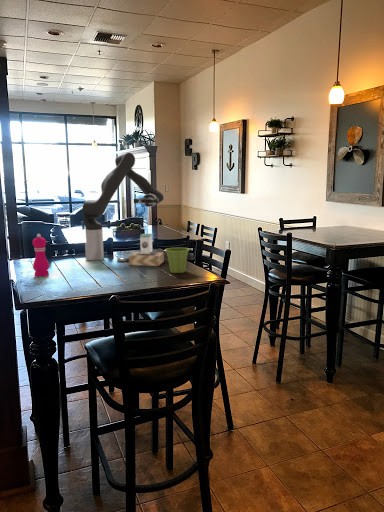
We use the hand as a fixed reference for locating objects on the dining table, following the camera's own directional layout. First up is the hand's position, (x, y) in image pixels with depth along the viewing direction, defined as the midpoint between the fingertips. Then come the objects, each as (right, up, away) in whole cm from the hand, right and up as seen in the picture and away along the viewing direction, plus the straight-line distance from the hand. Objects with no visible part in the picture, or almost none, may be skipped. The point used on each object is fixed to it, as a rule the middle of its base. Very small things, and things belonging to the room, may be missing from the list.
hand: (143, 201), depth 239 cm
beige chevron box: (+4, -35, -15) cm, 38 cm away
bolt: (-10, -35, -11) cm, 38 cm away
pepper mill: (-43, -41, -42) cm, 73 cm away
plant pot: (+21, -39, -36) cm, 58 cm away
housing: (+4, -30, -15) cm, 34 cm away
